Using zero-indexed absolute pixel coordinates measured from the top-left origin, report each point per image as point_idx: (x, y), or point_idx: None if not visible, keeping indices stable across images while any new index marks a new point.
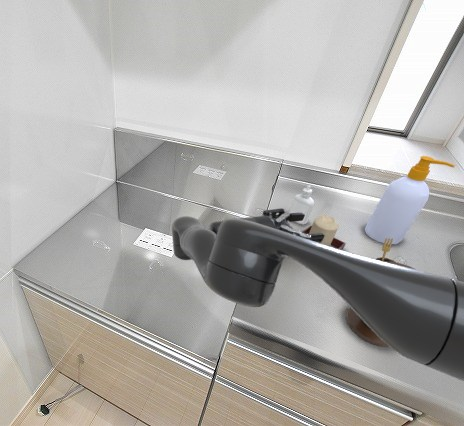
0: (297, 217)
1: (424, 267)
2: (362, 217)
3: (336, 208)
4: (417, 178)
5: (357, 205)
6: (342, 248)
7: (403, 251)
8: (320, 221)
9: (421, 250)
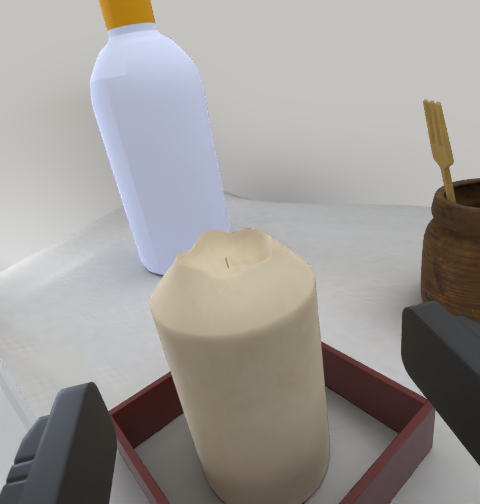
0: (88, 471)
1: (317, 222)
2: (99, 270)
3: (20, 312)
4: (147, 12)
5: (41, 270)
6: None
7: None
8: (236, 292)
9: (252, 218)
